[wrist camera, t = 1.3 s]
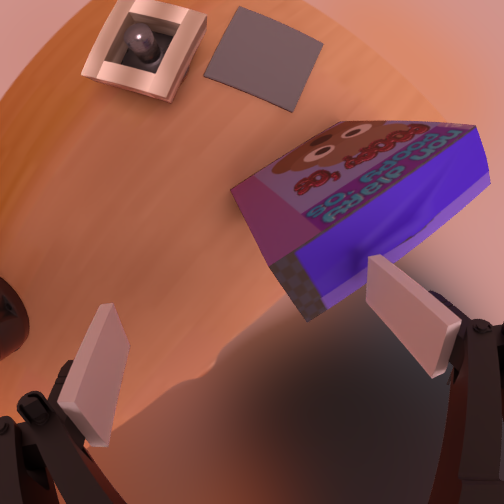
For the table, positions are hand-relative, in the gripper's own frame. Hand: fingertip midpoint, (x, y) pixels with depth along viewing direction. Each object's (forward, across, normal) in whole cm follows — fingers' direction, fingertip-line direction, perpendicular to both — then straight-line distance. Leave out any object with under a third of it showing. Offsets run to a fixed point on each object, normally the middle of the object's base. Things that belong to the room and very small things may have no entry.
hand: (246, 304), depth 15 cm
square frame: (+20, -5, +18) cm, 28 cm away
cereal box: (+26, +10, +2) cm, 28 cm away
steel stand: (+26, -5, +18) cm, 32 cm away
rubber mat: (+26, +8, +18) cm, 32 cm away
